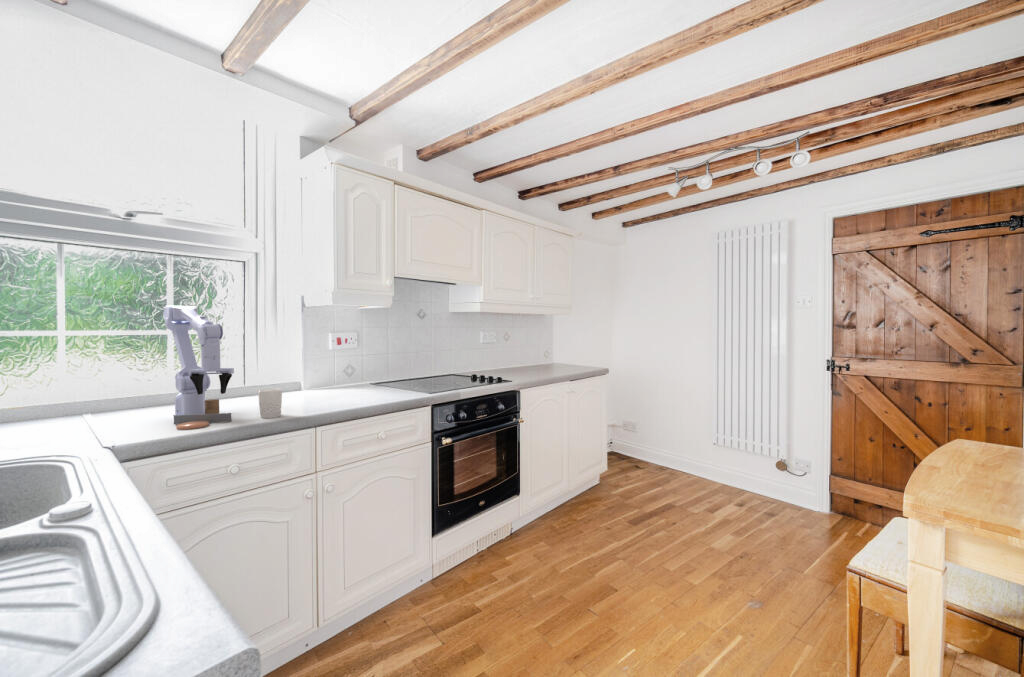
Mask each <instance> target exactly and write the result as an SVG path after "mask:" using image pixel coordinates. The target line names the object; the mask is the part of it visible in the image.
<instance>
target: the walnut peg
mask: <svg viewBox="0 0 1024 677" xmlns="http://www.w3.org/2000/svg"><path fill="white" fill-rule="evenodd" d="M216 413H220V399H217V398H213V399H205V414H216Z"/></svg>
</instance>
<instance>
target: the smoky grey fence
mask: <svg viewBox="0 0 1024 677" xmlns="http://www.w3.org/2000/svg"><path fill="white" fill-rule="evenodd" d="M173 415H174V416H173V425H178V424H181V423H186V422H193V421H208V422H209V424H211V423H212V424H213V423H231V422H232V412H227V413H226V412H224V413H223V412H219V413H216V414H189V415H175V414H173Z"/></svg>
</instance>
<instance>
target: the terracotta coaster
mask: <svg viewBox="0 0 1024 677" xmlns="http://www.w3.org/2000/svg"><path fill="white" fill-rule="evenodd" d="M175 425H176V430H180V431H181V430H182V431H187V430H188V431H189V430H196V429H203V428H206V427H208V426H210V423H209V422H208V421H193V422H186V423H181V424H175Z"/></svg>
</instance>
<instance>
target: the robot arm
mask: <svg viewBox="0 0 1024 677" xmlns="http://www.w3.org/2000/svg"><path fill="white" fill-rule="evenodd" d="M163 320H164V323H165V326H166V329H168V330H169V331H171V334H172V336H173V339H174V344H175V347H176V351H177V355H178V359H179V363H180V366H181V369H180V370H179V371H177V372H176V374H175V376H174V378H175V388H176V390H177V391H178V392H179V393H178V394H177V395H176V396H175V398H174V399H175V400H174V409H175V410H174V411H175V414H172V416H173V417H174V415H189V414H205V400H206V392H207V391H208V389H209V388H210V386H211V378H210V375H218V378H219V385H220V394H221V395H222V394H223V395H224V394H226V392H227V387H228V384H229V382H230V381H231V378H232V376H233V374H235V368H233V367H231V368H229V367H227V368H226V367H221V339H222V338H223V337H224V336H223V335H224V329H223V327H222V325H221V324H220V323H216V324H214V323H213V322H211V321H210V320H209V319H208V318H206V316H205V315H199V311H198V307H196V306H195V305H191V306H190V305H170V304H169V305H168V304H167V305H166V306H165V307H164V309H163ZM192 329H193V330H194V331H195V332H196V333H197V337H198V343H199V345H200V351H201V352H200V358H201V366H199V365H198V362H197V360H196V355H195V352H194V349H193V345H192V341H191V339H190V338H191V337H190V335H189V331H191V330H192Z"/></svg>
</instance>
